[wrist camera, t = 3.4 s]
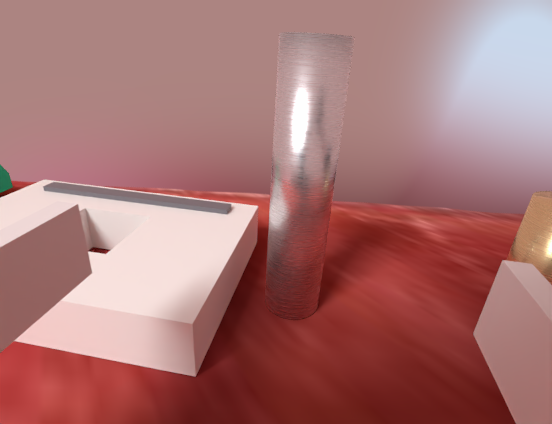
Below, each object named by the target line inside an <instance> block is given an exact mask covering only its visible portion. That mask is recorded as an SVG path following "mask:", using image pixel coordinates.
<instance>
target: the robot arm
mask: <svg viewBox="0 0 552 424" xmlns="http://www.w3.org/2000/svg"><path fill="white" fill-rule="evenodd" d="M91 274H92V269H91V264H90V259H89V254H88V250H87V245H86V240H85V235H84V230H83V225H82V220H81V216H80V211H79V206H78V204H75V203H67V202H60V201H57V202H55V203H53V204H51V205H49V206H47V207H45V208H43V209H41V210H39V211H37V212H35V213H33V214H31V215H29V216H27V217H25V218H23V219H21V220H19V221H17V222H15V223H13V224H11V225H9V226H7V227H5V228H3V229H1V230H0V353H1V352H2V351H3V350H4V349H5V348H6V347H8V346H9V345H10V344H11V343H12V342H13V341H14V340H16V339H17V338H18V337H19V336H20V335H21V334H23V333H24V332H25V331H26V330H27V329H28V328H29V327H31V326H32V325H33V324H34V323H35V322H36V321H37V320H39V319H40V318H41V317H42V316H43V315H44V314H46V313H47V312H48V311H49V310H50V309H51V308H52V307H54V306H55V305H56V304H57V303H58V302H59V301H61V300H62V299H63V298H64V297H65V296H66V295H67V294H69V293H70V292H71V291H72V290H73V289H74V288H76V287H77V286H78V285H79V284H80V283H81V282H82V281H84V280H85V279H86V278H87V277H88V276H89V275H91ZM473 335H474V337H475V339H476V341H477V344H478V346H479V348H480V350H481V352H482V354H483V356H484V358H485V360H486V362H487V364H488V366H489V369H490V371H491V373H492V375H493V377H494V379H495V381H496V383H497V385H498V387H499V389H500V392H501V394H502V396H503V398H504V400H505V402H506V404H507V406H508V408H509V410H510V412H511V415H512V417H513V419H514V421H515V423H516V424H552V285H551V284H550V283H549V282H548V280H547V279H546V278H545V277H544V276H543V275H542V274H541V273H540V272H539V271H538V270H537V269H536V268H535V266H534V265H533V264H530V263H522V262H514V261H507V260H502V262H501V265H500V267H499V270H498V272H497V275H496V278H495V280H494V283H493V285H492V288H491V290H490V293H489V295H488V298H487V300H486V303H485V305H484V308H483V310H482V313H481V315H480V318H479V320H478V323H477V325H476V328H475V330H474V333H473Z"/></svg>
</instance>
